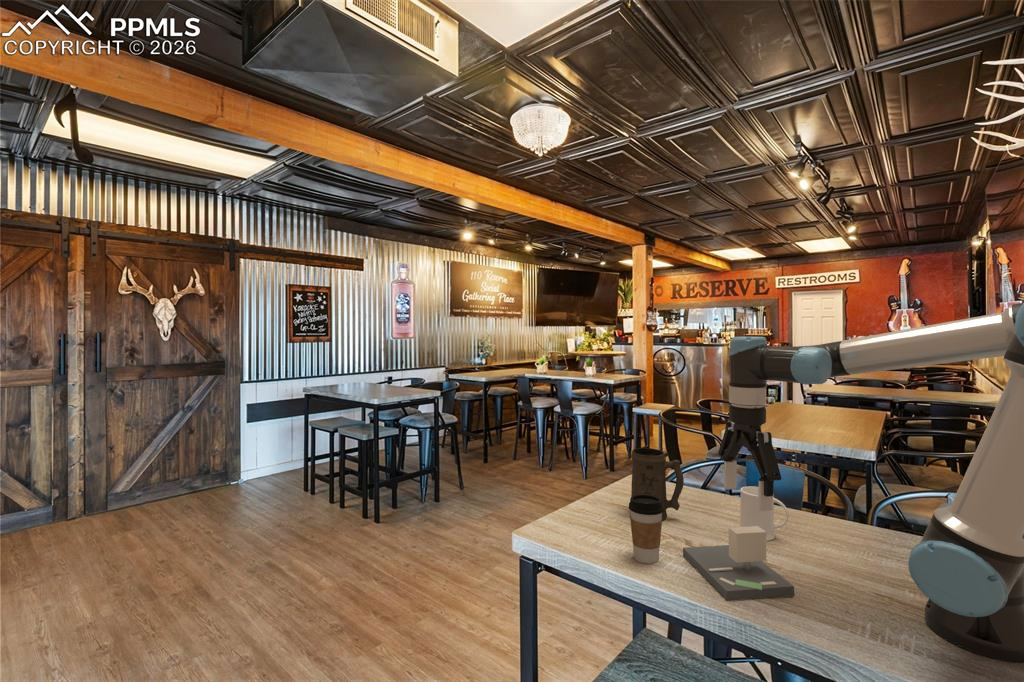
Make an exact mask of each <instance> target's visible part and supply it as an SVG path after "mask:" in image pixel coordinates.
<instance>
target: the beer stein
mask: <svg viewBox="0 0 1024 682" xmlns="http://www.w3.org/2000/svg"><path fill="white" fill-rule="evenodd" d="M630 457H631V462H632V463H631V470H632V471H631V497H632V496H634V495H640V494H643V495H651V496H655V497H658V498H660V499H661V500H662V506H663V509H664V511H663V512H662V522H663V521H665V520H666V519H667V518H668V517H667V516H668V515H667V509H674V510H675V511H679V508H680V503H679V497H680V495H681V493H682V491H683V488H684V482H685V481H684V479H685V477H684V473H683V471H682V468H681V461H680V460H679V459H673V460H672V461H671V460H669V461H667V457H666V455H665V452H664V451H663V450H661V449H656V448H649V447H637V448H633V449H632V452H631V455H630ZM668 469H672V470H673V471H674V473H675V477H676V478H675V487H674V491H673V494H672V496H671V498H670V499H669V500H668V499H667V481H666V480H667V479H666V478H667V477H666V476H667V475H666V471H667V470H668ZM631 497H630V498H631ZM629 514H630V515H631V513H630V512H629Z"/></svg>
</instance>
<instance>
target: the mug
mask: <svg viewBox="0 0 1024 682" xmlns="http://www.w3.org/2000/svg"><path fill="white" fill-rule="evenodd" d="M758 494H759V486H742V487H741V488H740V524H739V525H740V526H739V527H752V526H758V527H760V528H761V529H763V530H764V531H766V542H769V541H773V540H774V539H775V532H774V531H775V529H776V530H777V529H780V528H783V527H784V526H785V525H786V524H787V523H788V521H789V515H790V514H789V510H788V509H787V507H786V505H785V504H784V503H783V502H782V501H780V500H779V499H778V498H775V495H774V492H773V510H770V511H760V510H758ZM774 504H778V505H780V507H782V508H783V510H784V511H785V514H786V518H785V520H784V521H783V522H781V523H778V524H776V523H775V521H774V519H775V518H774V517H775V515H774V513H775V512H774V511H775V510H774V509H775V507H774Z"/></svg>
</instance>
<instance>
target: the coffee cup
mask: <svg viewBox="0 0 1024 682" xmlns="http://www.w3.org/2000/svg"><path fill="white" fill-rule="evenodd" d="M628 509H629V514H630V513H631V514H630V515H629V519H630V521H629V522H630V530H631V539H632V547H633V548H632V550H633V558H634V559H635V561H637V562H639V563H641V564H647V565H649V564H650V565H651V564H656V563H657V562H659V560H660V546H661V534H662V526H663V521H662V512H663V511H664V509H663V506H662V500H661V499H660V498H658V497H655V496H651V495H643V494H640V495H634V496H632V497H630V499H629V503H628Z"/></svg>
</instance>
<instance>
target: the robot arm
mask: <svg viewBox="0 0 1024 682" xmlns="http://www.w3.org/2000/svg"><path fill="white" fill-rule="evenodd" d="M767 342H768V341H767V338H766V337H765V336H734V337H731V339H730V342H729V353H728V358H729V359H728V361H729V365H728V366H729V385H728V389H729V390H728V402H729V403H730V405H729V407H728V420H726V421H725V429H724V433H723V436H722V439H721V442H720V445H719V449H718V452H717V453H718V456H719V457H721V458H722V461H723V489H724V490H736V489H737V482H738V481H737V476H738V475H737V471H738V469H737V465H738V464H737V460H738V459H737V456H738V455H739V453H740V451H741V449H742V447H744V448H746V449H747V451H748V452H749V453H750V454H751V456H752V459H753V461H754V464H755V466H756V468H757V470H758V473H759V476H760V477H759V478H758V487H759V494H758V510H760V511H770V510H773V493H774V484H775V483H774V482H775V481H781V480H782V474H781V472H780V468H779V464H778V460H777V456H776V453H775V450H774V446H773V441H772V439H773V437H772V433H771V432H770V431H768V432H767V431H764V432H763V431H762V425H765V424H766V422H767V408H766V407H765V405H767V382H769V381H773V382H774V381H775V382H785V383H793V384H802V385H805V386H807V385H824V384H825V383H827V381H828V379H830V378H831V379H832V378H837V377H839V378H840V377H845V376H851V375H852V376H853V375H858V374H859V375H860V374H869V373H876V372H884V371H892V370H902V369H909V368H916V367H917V368H919V367H925V366H932V365H933V366H934V365H942V364H950V363H958V362H966V361H973V360H983V359H990V358H999V357H1000V358H1001V357H1003V358H1002V360H1003V361H1004V363H1005V365H1006V366H1007V367H1008V369H1009V370H1010V376H1009V377H1008V380H1007V382H1006V385H1005V386H1004V389H1003V391H1002V393H1001V395H1000V397H999V399H998V402H997V404H996V405H995V408H994V410H993V412H992V415H991V417H990V419H989V421H988V424H987V426H986V428H985V430H984V432H983V434H982V436H981V439H980V441H979V444H978V445H977V447H976V450H975V452H974V454H973V456H972V459H971V460H970V463H969V465H968V467H967V469H966V471H965V474H964V476H963V478H962V480H961V483H960V485H959V487H958V489H957V491H956V494H955V496H954V497H953V500H952V502H951V503H949V502H945V503H941V504H940V505H939V506H938V507H937V508H936V509H935V510H934V512H933V514H932V517H930V521H929V522H928V525H927V527H926V529H925V531H924V533H923V536H922V537H921V540H920V542H919V543H917V544H916V545H915V546H914V547H912V549H911V551H910V553H909V557H908V563H907V565H908V570H909V574H910V577H911V579H912V581H914V583H915V585H916V586H917V589H918V590H919V591H920V592H921V593H922V594H923V595H924V596H925V597H926V598H927V599H928V600H927V602H926V603H925V605H924V620H925V624H927V626H928V627H929V628H930V629H931V630H932V631H933V632H934V633H936V634H937V635H939V636H940V637H942V638H943V639H945V640H947V641H948V642H950V643H952V644H954V645H956V646H959V647H960V648H963V649H965V650H967V651H970V652H972V653H975V654H978V655H982V656H985V657H989V658H992V659H997V660H1002V661H1007V662H1013V663H1014V662H1017V663H1019V662H1020V663H1024V302H1019V303H1015V304H1010V305H1008V307H1006V309H1005V310H1004V311H1002V312H996V313H990V314H986V315H985V314H984V315H980V316H974V317H970V318H968V317H967V318H962V319H956V320H952V321H945V322H940V323H935V324H929V325H924V326H919V327H912V328H911V327H910V328H907V329H900V330H896V331H895V330H894V331H890V332H883V333H876V334H872V335H865V336H861V337H856V338H850V339H845V340H840V341H833V342H827V343H822V344H821V343H820V344H814V345H813V344H812V345H799V346H792V345H791V346H789V345H788V346H787V345H786V346H779V345H778V346H774V345H769V344H768V343H767Z"/></svg>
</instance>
